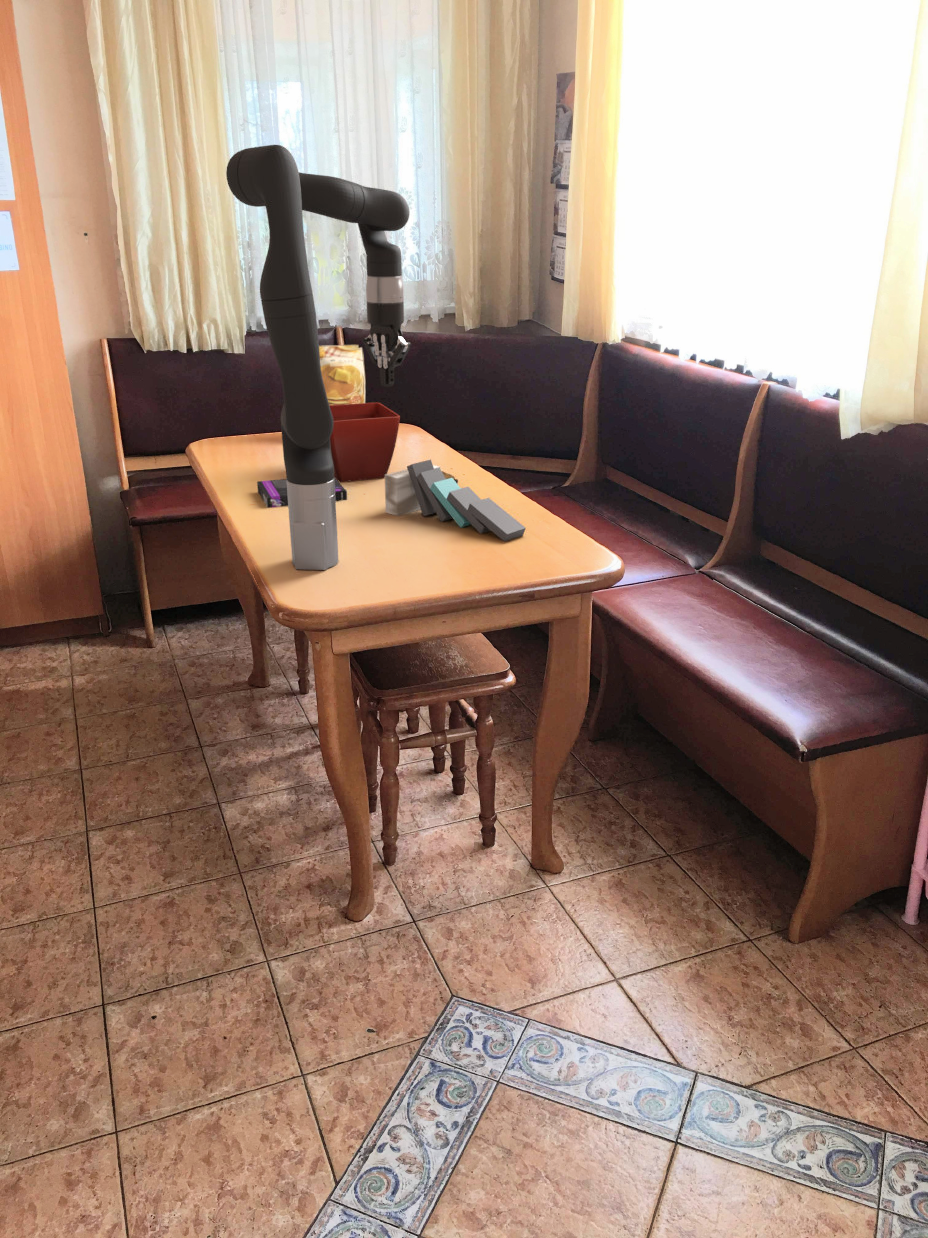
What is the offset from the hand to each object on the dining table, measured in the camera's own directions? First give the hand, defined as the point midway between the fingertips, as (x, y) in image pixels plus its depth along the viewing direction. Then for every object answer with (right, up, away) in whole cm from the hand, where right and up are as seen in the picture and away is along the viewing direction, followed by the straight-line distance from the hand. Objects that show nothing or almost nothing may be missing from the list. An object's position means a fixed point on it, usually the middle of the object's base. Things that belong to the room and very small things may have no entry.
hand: (387, 385), depth 203 cm
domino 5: (+27, -31, +5) cm, 41 cm away
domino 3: (+18, -27, +13) cm, 35 cm away
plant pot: (-12, -11, +53) cm, 55 cm away
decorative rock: (+8, -15, +45) cm, 48 cm away
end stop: (+4, -23, +25) cm, 34 cm away
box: (-24, -19, +34) cm, 46 cm away
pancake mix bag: (-22, +4, +87) cm, 90 cm away
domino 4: (+22, -29, +10) cm, 38 cm away
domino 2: (+14, -26, +17) cm, 34 cm away
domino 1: (+9, -24, +21) cm, 33 cm away
